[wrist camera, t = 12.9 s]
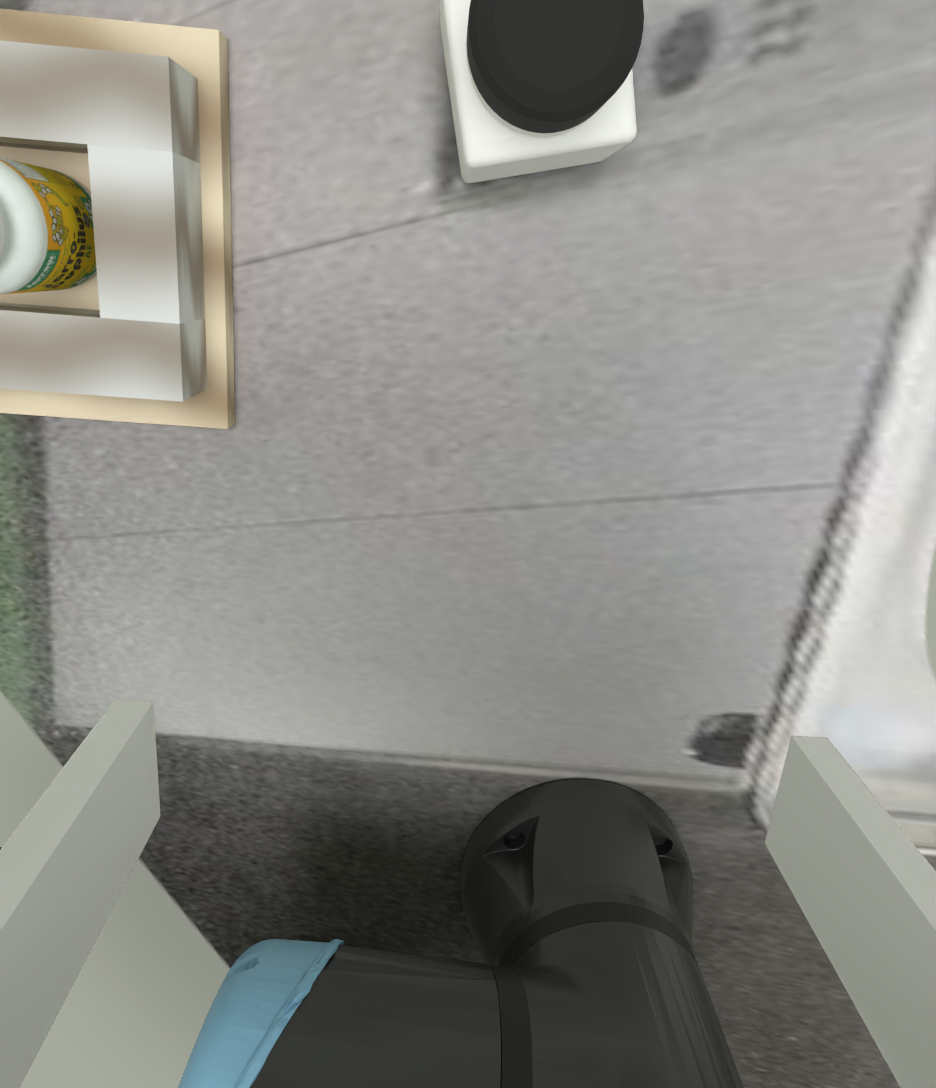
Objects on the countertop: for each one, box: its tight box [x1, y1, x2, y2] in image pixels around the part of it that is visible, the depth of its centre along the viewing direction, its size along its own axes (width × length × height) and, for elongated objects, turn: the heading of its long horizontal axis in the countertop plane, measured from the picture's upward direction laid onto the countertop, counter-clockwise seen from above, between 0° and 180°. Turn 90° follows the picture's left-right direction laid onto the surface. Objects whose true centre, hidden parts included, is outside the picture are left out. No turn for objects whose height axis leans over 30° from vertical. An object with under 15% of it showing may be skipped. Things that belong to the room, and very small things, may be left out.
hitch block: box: [0, 9, 235, 429], centre depth 36 cm, size 18×16×6 cm
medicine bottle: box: [439, 0, 644, 183], centre depth 32 cm, size 7×7×12 cm
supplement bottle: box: [0, 157, 97, 294], centre depth 33 cm, size 5×5×10 cm
